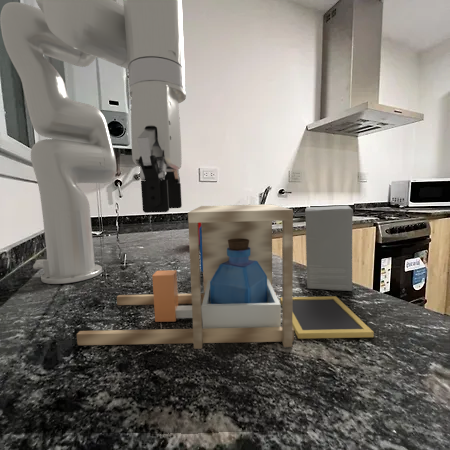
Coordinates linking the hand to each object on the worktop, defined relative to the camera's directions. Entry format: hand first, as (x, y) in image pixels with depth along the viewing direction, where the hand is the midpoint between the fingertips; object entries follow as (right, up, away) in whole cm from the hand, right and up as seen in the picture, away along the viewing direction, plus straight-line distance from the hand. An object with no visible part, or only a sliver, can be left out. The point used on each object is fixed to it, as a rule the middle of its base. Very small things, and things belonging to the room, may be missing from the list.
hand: (165, 209), depth 38 cm
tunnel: (+11, -16, +2) cm, 20 cm away
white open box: (+7, -16, +2) cm, 18 cm away
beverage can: (+6, -14, +24) cm, 29 cm away
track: (+4, -16, +2) cm, 17 cm away
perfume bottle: (+11, -17, +2) cm, 20 cm away
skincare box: (+29, -15, +14) cm, 35 cm away
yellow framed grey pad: (+23, -16, +1) cm, 28 cm away
